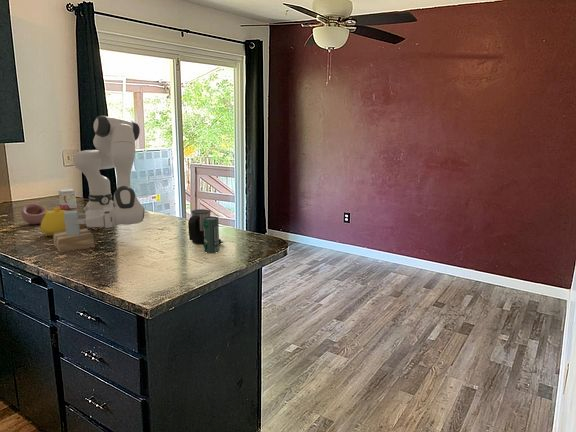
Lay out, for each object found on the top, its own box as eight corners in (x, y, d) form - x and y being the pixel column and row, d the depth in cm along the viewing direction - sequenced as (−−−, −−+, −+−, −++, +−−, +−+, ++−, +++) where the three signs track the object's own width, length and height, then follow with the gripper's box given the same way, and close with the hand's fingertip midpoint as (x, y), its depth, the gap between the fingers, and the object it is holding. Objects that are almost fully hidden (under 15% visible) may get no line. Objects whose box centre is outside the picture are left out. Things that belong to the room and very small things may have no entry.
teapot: (32, 233, 216) (28, 206, 213) (64, 227, 228) (61, 202, 225) (50, 241, 204) (47, 212, 201) (83, 234, 216) (80, 207, 212)
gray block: (68, 232, 197) (65, 211, 195) (80, 231, 199) (77, 210, 196) (66, 235, 192) (63, 213, 190) (79, 234, 194) (76, 212, 192)
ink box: (63, 209, 270) (61, 191, 268) (59, 208, 274) (57, 190, 271) (77, 208, 277) (75, 189, 274) (73, 206, 280) (72, 188, 277)
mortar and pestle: (28, 227, 227) (25, 206, 224) (18, 224, 234) (16, 203, 231) (52, 223, 236) (49, 202, 234) (42, 220, 243) (39, 200, 241)
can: (208, 248, 194) (207, 216, 191) (221, 250, 193) (220, 217, 189) (202, 252, 189) (201, 219, 185) (215, 254, 187) (214, 220, 184)
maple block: (54, 245, 198) (52, 232, 197) (87, 240, 206) (85, 228, 205) (60, 253, 187) (58, 240, 186) (94, 247, 195) (93, 234, 194)
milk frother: (195, 238, 210) (193, 208, 207) (227, 239, 209) (226, 209, 206) (186, 247, 196) (185, 215, 193) (221, 248, 196) (220, 216, 192)
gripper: (106, 206, 209) (74, 208, 203) (108, 214, 191) (73, 217, 185) (107, 218, 210) (76, 221, 205) (109, 228, 192) (74, 231, 187)
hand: (74, 219), depth 195 cm, fingers open, 8 cm apart
